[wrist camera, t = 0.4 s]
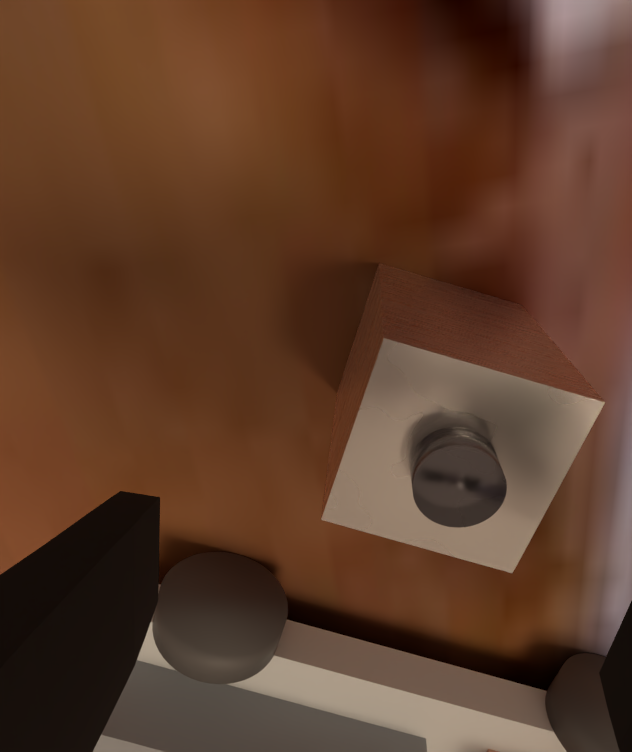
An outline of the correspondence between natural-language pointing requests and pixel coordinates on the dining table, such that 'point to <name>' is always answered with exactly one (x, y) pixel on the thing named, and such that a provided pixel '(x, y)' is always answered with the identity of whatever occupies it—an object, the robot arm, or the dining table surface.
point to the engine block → (452, 421)
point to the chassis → (324, 684)
